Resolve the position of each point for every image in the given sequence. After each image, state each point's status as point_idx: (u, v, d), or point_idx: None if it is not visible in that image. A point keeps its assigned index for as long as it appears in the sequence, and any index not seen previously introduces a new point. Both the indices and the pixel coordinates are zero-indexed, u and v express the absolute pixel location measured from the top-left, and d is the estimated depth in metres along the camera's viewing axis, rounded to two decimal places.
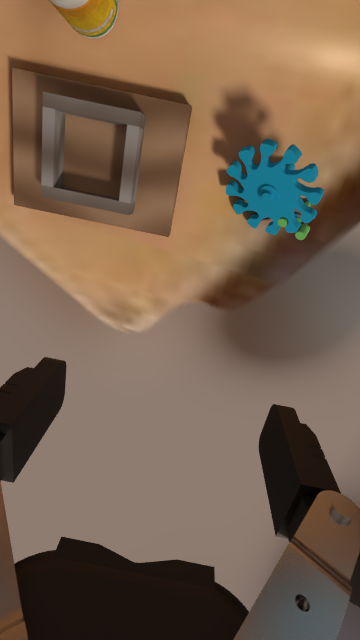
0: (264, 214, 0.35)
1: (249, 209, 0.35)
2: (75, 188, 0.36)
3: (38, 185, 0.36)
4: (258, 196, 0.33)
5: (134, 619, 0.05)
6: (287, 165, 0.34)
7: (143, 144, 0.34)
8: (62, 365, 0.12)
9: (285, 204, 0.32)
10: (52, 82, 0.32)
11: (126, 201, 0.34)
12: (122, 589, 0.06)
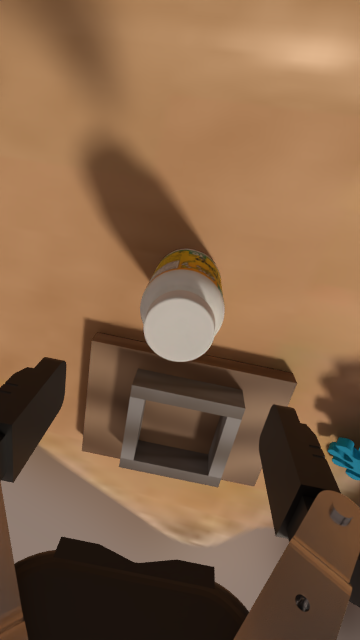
0: None
1: (353, 470, 0.31)
2: (153, 442, 0.32)
3: (111, 437, 0.32)
4: None
5: (134, 619, 0.05)
6: None
7: None
8: (62, 365, 0.12)
9: None
10: (137, 355, 0.28)
11: (216, 476, 0.30)
12: (122, 589, 0.06)
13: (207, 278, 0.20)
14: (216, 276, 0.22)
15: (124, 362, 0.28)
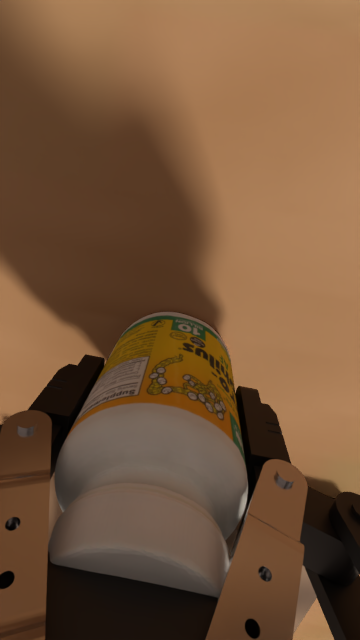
0: None
1: None
2: None
3: None
4: None
5: (134, 619, 0.05)
6: None
7: None
8: (102, 362, 0.12)
9: None
10: None
11: None
12: (122, 589, 0.06)
13: (208, 425, 0.08)
14: (226, 386, 0.11)
15: None
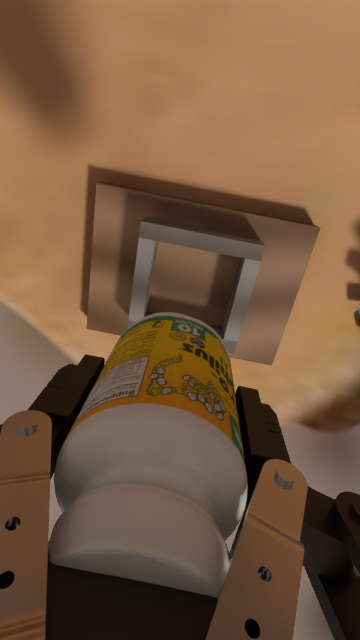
0: None
1: None
2: None
3: (118, 309, 0.30)
4: None
5: (134, 619, 0.05)
6: None
7: None
8: (102, 362, 0.12)
9: None
10: (146, 200, 0.26)
11: (233, 339, 0.27)
12: (122, 589, 0.06)
13: (208, 425, 0.08)
14: (226, 386, 0.11)
15: (131, 210, 0.26)
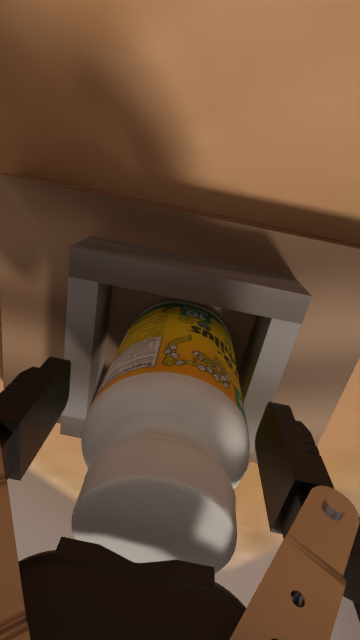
0: None
1: None
2: None
3: None
4: None
5: (134, 619, 0.05)
6: None
7: None
8: (67, 364, 0.12)
9: None
10: (89, 205, 0.14)
11: None
12: (122, 589, 0.06)
13: (216, 391, 0.09)
14: (230, 363, 0.12)
15: (64, 223, 0.14)
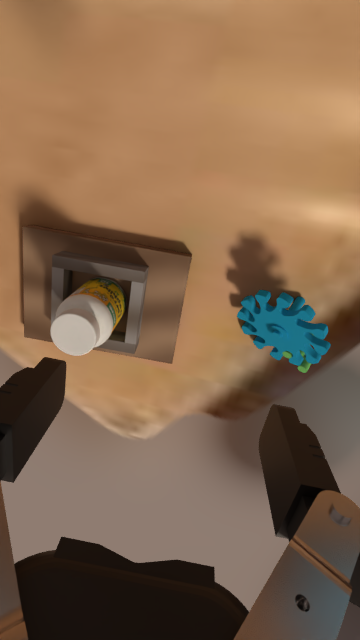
0: (270, 343, 0.36)
1: (257, 334, 0.36)
2: None
3: (47, 321, 0.38)
4: (268, 330, 0.35)
5: (134, 619, 0.05)
6: (298, 301, 0.35)
7: (146, 288, 0.36)
8: (62, 365, 0.12)
9: (292, 344, 0.34)
10: (60, 238, 0.34)
11: (131, 342, 0.35)
12: (122, 589, 0.06)
13: (97, 299, 0.29)
14: (112, 297, 0.32)
15: (50, 245, 0.34)
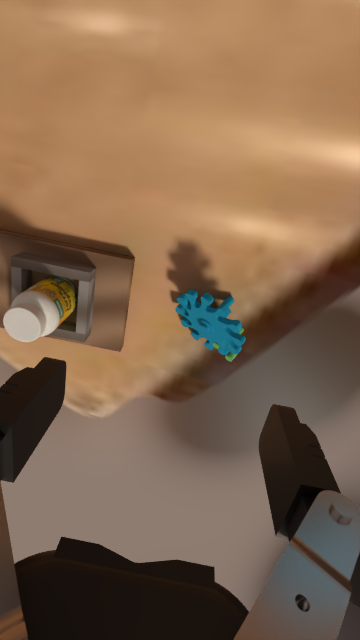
0: (203, 335, 0.42)
1: (192, 327, 0.42)
2: None
3: None
4: (199, 323, 0.40)
5: (134, 619, 0.05)
6: (227, 300, 0.41)
7: (95, 286, 0.41)
8: (62, 365, 0.12)
9: (218, 336, 0.40)
10: (20, 241, 0.40)
11: (81, 332, 0.41)
12: (122, 589, 0.06)
13: (45, 296, 0.35)
14: (61, 294, 0.38)
15: (12, 247, 0.40)
